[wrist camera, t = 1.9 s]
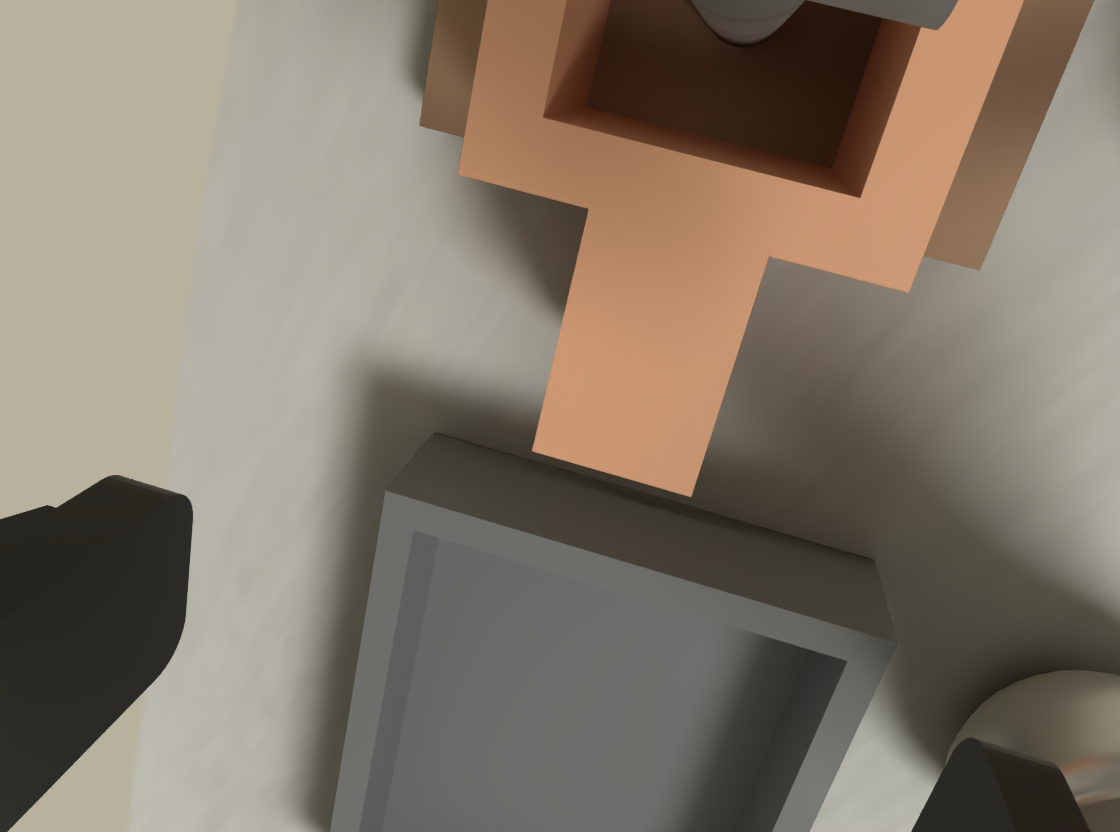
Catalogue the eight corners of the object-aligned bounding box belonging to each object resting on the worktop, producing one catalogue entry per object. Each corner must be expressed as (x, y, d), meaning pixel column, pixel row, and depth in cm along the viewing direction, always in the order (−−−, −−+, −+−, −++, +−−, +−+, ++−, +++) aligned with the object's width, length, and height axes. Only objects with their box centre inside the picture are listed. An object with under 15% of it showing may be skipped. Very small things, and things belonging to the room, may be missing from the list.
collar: (603, -274, 16) (556, -397, 12) (1026, -185, 15) (1134, -280, 11) (481, 347, 20) (415, 417, 16) (798, 436, 20) (814, 532, 16)
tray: (434, 432, 23) (385, 490, 20) (874, 560, 22) (897, 642, 19) (355, 862, 30) (309, 958, 26) (693, 976, 29) (688, 1091, 25)
